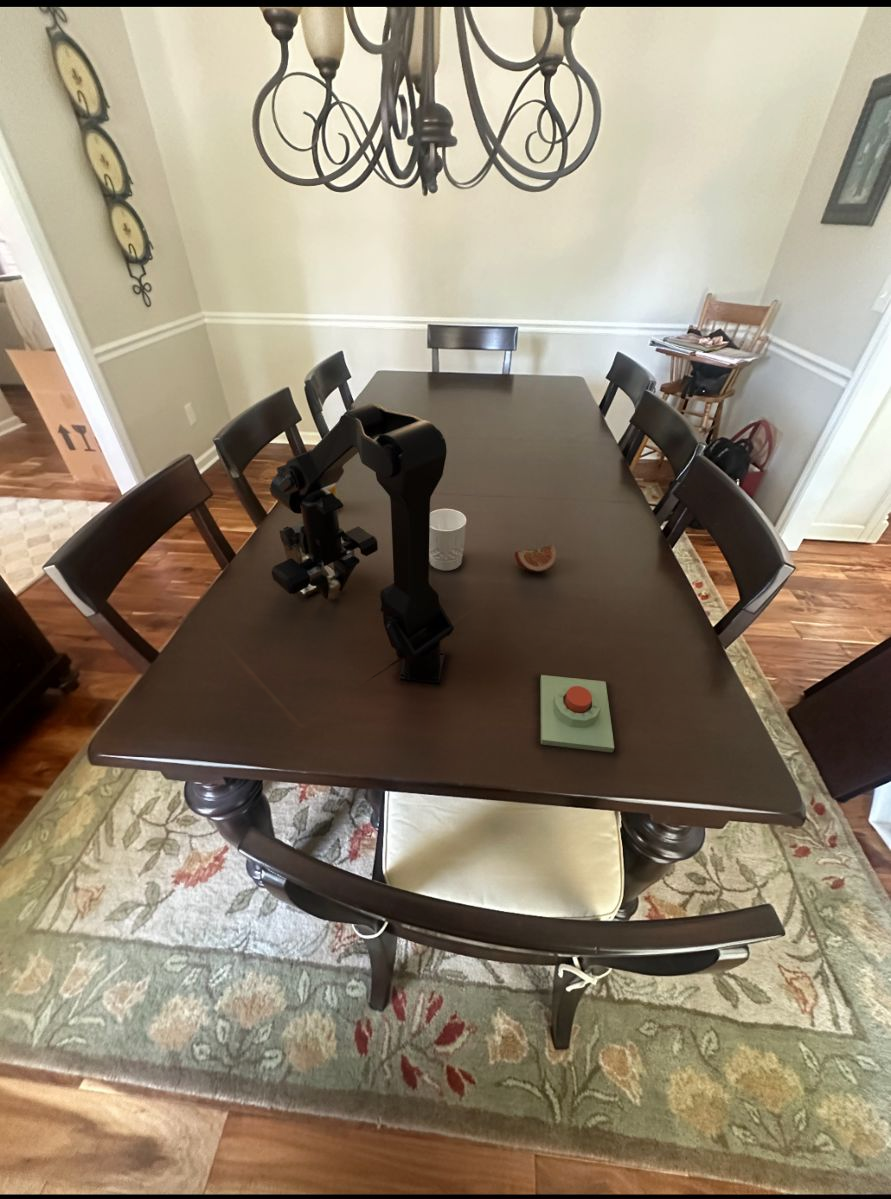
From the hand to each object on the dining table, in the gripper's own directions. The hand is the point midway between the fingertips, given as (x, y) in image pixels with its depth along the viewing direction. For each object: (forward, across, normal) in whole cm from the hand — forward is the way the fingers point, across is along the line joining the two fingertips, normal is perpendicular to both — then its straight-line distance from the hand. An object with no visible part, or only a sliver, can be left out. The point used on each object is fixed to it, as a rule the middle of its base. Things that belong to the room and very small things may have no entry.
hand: (332, 593), depth 96 cm
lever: (-4, 0, -5) cm, 6 cm away
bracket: (+1, 0, -8) cm, 8 cm away
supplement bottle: (+2, -17, -27) cm, 32 cm away
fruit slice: (0, -34, +21) cm, 40 cm away
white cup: (+1, -23, +7) cm, 24 cm away
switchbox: (-1, -10, +47) cm, 48 cm away
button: (-3, -10, +47) cm, 48 cm away
